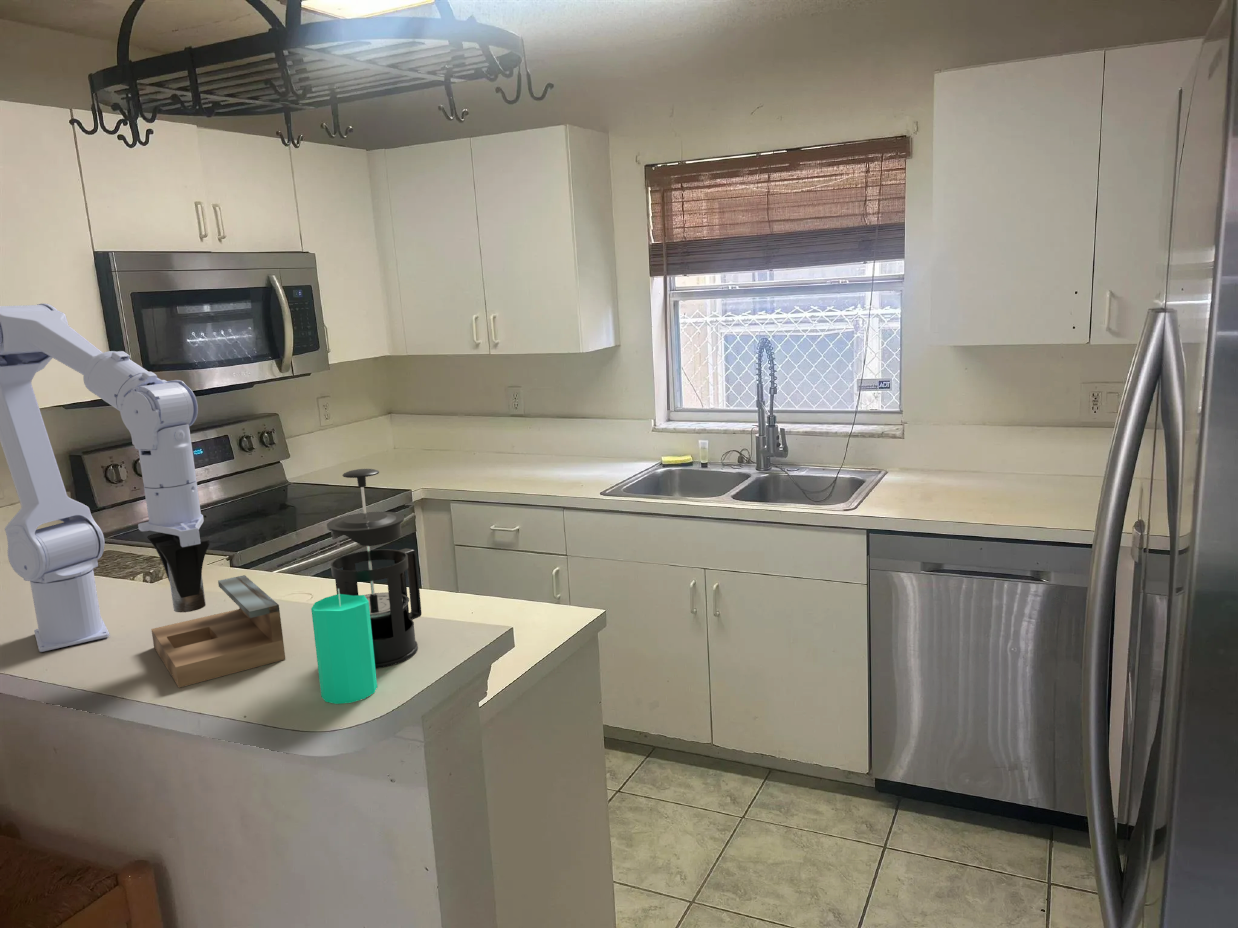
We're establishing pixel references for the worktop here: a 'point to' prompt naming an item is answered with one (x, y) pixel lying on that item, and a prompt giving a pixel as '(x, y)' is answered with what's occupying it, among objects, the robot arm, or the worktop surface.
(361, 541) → the french press
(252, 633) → the socket board
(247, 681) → the worktop surface
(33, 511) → the robot arm
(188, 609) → the peg
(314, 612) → the candle
